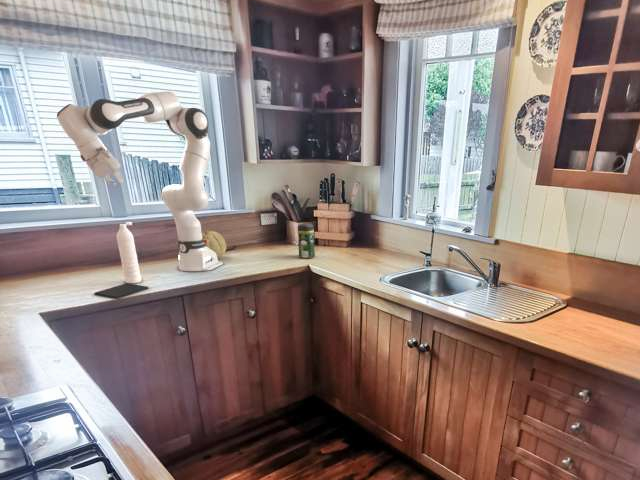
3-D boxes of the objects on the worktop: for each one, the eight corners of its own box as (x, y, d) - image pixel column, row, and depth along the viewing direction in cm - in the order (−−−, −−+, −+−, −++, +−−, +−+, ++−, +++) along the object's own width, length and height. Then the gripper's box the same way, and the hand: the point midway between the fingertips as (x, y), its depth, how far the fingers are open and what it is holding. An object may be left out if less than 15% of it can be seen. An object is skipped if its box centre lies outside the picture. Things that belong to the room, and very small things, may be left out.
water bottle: (135, 284, 204) (124, 225, 194) (122, 282, 205) (110, 224, 194) (147, 278, 212) (137, 222, 201) (134, 277, 213) (123, 221, 202)
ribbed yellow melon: (231, 256, 256) (228, 229, 250) (221, 262, 243) (218, 233, 237) (205, 255, 257) (201, 227, 251) (193, 261, 243) (190, 232, 237)
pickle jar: (303, 254, 266) (302, 221, 258) (316, 255, 264) (315, 222, 256) (296, 258, 258) (295, 223, 250) (309, 259, 256) (308, 225, 248)
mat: (127, 284, 203) (127, 283, 202) (148, 288, 199) (148, 286, 198) (95, 294, 189) (94, 292, 189) (116, 298, 185) (116, 296, 185)
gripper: (108, 142, 175) (133, 177, 183) (93, 151, 189) (116, 183, 197) (94, 149, 172) (119, 184, 180) (79, 158, 186) (103, 191, 194)
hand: (118, 184), depth 188 cm, fingers open, 8 cm apart
